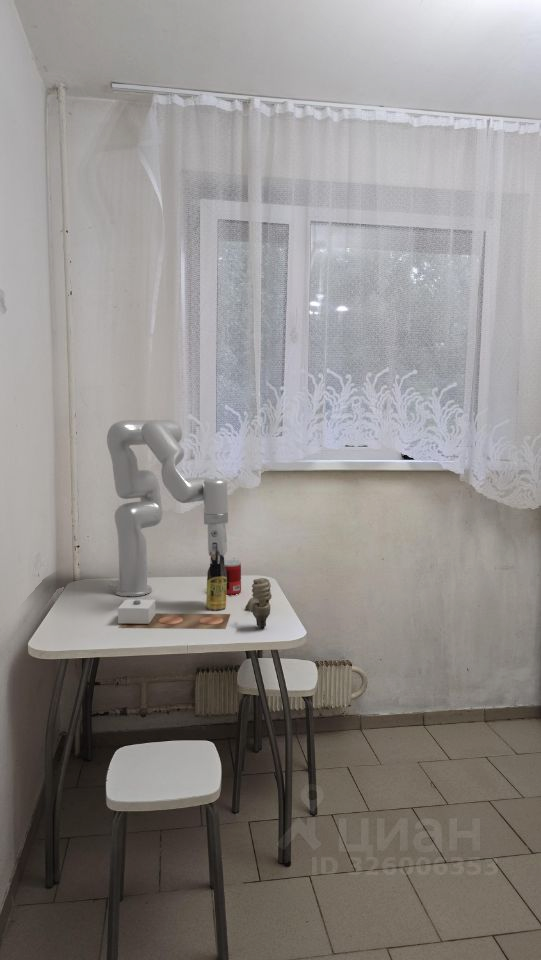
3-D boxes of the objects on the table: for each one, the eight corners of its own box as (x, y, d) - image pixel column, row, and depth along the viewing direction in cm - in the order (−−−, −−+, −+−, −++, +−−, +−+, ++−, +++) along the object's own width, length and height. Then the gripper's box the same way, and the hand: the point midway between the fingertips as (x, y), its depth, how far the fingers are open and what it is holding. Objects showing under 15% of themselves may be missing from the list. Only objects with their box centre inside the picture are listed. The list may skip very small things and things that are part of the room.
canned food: (242, 590, 231) (242, 559, 230) (239, 596, 223) (239, 564, 222) (221, 589, 232) (220, 559, 231) (217, 595, 224) (216, 564, 223)
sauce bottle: (209, 615, 202) (209, 552, 200) (203, 610, 207) (202, 548, 205) (229, 613, 204) (229, 550, 202) (223, 607, 210) (222, 547, 208)
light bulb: (273, 631, 187) (273, 579, 186) (254, 632, 186) (254, 581, 184) (267, 624, 193) (267, 575, 191) (249, 626, 191) (249, 576, 190)
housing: (118, 623, 189) (117, 605, 189) (126, 613, 198) (125, 596, 198) (149, 623, 189) (148, 605, 188) (155, 614, 198) (155, 597, 197)
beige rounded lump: (261, 615, 203) (261, 583, 202) (243, 609, 208) (243, 579, 207) (273, 611, 207) (273, 580, 206) (255, 606, 212) (255, 576, 211)
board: (117, 631, 187) (117, 627, 187) (130, 616, 201) (130, 612, 201) (225, 633, 186) (225, 628, 186) (230, 617, 200) (230, 613, 199)
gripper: (224, 522, 194) (226, 579, 195) (230, 514, 211) (232, 566, 213) (199, 523, 194) (201, 579, 196) (207, 515, 212) (209, 567, 213)
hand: (217, 572), depth 204 cm, fingers open, 9 cm apart
